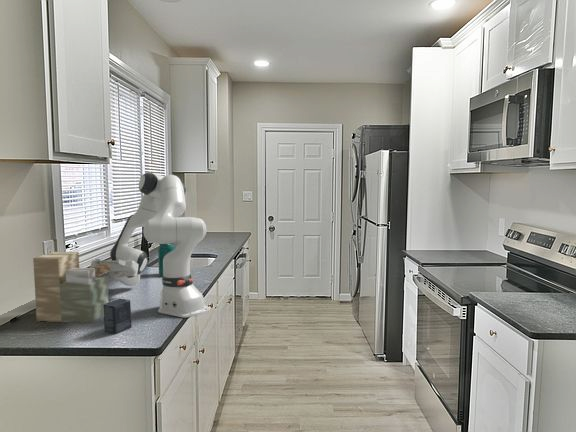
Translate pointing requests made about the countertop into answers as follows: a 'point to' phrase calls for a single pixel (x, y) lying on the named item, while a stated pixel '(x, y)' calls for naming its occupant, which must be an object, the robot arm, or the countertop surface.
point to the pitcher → (163, 255)
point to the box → (117, 316)
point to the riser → (66, 291)
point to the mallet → (85, 274)
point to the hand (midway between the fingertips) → (106, 260)
